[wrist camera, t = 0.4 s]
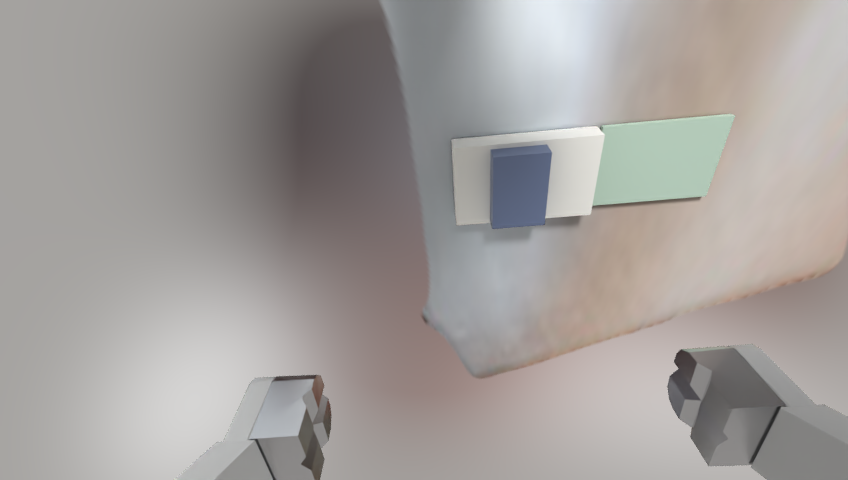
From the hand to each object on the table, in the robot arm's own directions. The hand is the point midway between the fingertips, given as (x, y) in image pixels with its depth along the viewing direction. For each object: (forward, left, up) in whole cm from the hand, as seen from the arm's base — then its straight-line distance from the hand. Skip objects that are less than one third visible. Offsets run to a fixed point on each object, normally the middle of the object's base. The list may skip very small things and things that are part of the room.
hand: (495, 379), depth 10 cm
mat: (+15, +25, -38) cm, 48 cm away
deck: (+15, +9, -38) cm, 42 cm away
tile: (+15, +8, -35) cm, 39 cm away
